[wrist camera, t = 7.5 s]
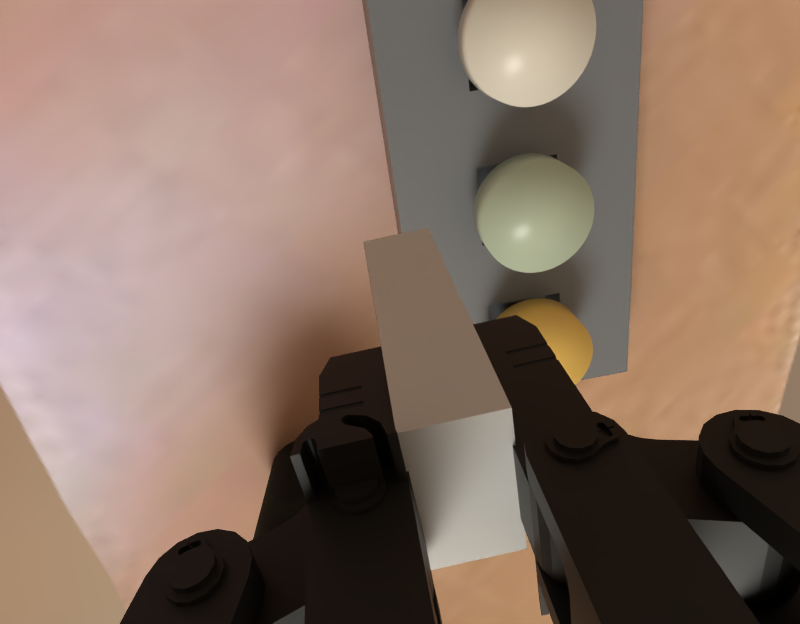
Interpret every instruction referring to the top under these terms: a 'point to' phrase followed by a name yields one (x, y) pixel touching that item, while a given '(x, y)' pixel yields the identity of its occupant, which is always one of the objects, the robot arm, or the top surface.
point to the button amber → (558, 332)
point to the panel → (502, 139)
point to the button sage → (533, 212)
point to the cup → (280, 494)
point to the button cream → (526, 47)
